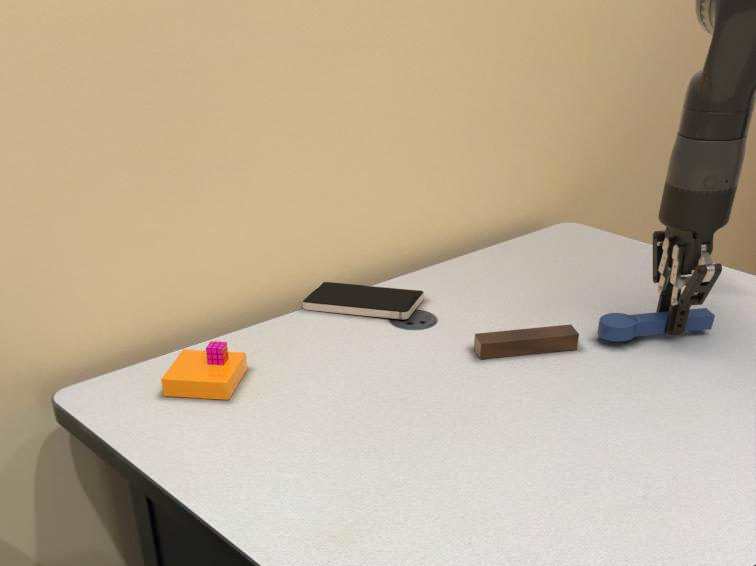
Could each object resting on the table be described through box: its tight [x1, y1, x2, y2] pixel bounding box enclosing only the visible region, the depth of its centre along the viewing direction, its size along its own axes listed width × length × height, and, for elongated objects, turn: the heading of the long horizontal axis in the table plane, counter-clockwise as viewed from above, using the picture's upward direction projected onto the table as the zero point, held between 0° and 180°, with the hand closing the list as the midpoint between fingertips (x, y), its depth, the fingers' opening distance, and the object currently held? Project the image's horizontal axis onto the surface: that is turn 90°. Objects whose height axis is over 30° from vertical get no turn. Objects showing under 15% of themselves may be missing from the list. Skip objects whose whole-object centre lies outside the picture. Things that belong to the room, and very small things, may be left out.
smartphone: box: [302, 281, 425, 320], centre depth 122 cm, size 8×1×15 cm
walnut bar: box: [473, 324, 580, 360], centre depth 108 cm, size 12×3×2 cm, turn 96°
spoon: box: [596, 307, 716, 342], centre depth 108 cm, size 14×4×2 cm, turn 96°
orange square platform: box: [160, 340, 248, 401], centre depth 105 cm, size 8×8×4 cm
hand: (668, 328), depth 109 cm, fingers closed on spoon, 2 cm apart
